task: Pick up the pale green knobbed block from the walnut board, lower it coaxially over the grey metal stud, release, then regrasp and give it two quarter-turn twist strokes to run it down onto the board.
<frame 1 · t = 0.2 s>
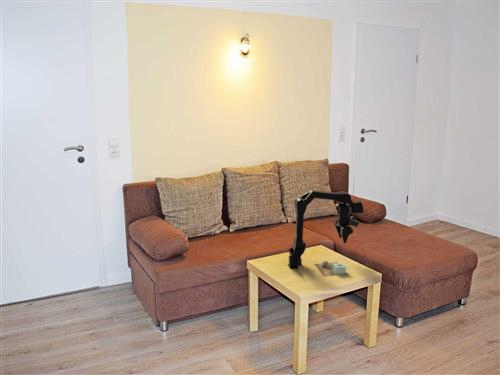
hand: (342, 240, 254), 14 cm above the table, fingers open, 9 cm apart
pale green knobbed block: (338, 272, 243), point 1 cm above the table, touching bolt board
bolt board: (330, 271, 247), on the table
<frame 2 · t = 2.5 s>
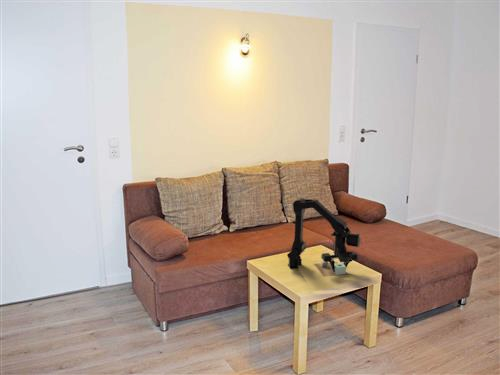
hand: (338, 271, 243), 2 cm above the table, fingers closed on pale green knobbed block, 6 cm apart
pale green knobbed block: (338, 272, 243), point 1 cm above the table, touching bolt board, gripper
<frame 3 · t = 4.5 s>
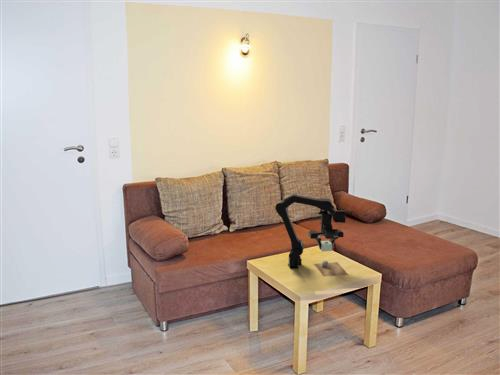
hand: (325, 248, 248), 12 cm above the table, fingers closed on pale green knobbed block, 6 cm apart
pale green knobbed block: (325, 249, 248), point 11 cm above the table, touching gripper
when the fingers open (3 cm above the table, at t = 6.5 s): pale green knobbed block stays where it is, resting on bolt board.
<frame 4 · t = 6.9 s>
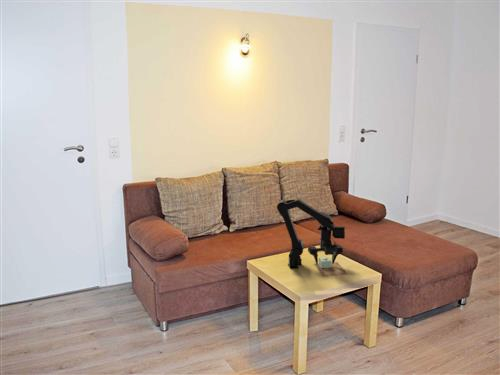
hand: (324, 264, 250), 3 cm above the table, fingers open, 9 cm apart
pale green knobbed block: (324, 266, 250), point 1 cm above the table, touching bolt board
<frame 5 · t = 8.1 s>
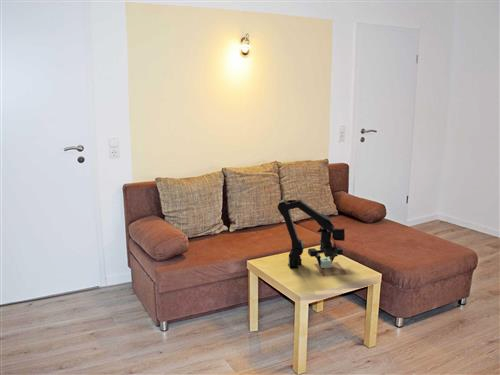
hand: (324, 266, 251), 1 cm above the table, fingers closed on pale green knobbed block, 6 cm apart
pale green knobbed block: (324, 266, 250), point 1 cm above the table, touching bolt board, gripper
when the fingers open (1 cm above the table, at t = 9.4 s): pale green knobbed block stays where it is, resting on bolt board.
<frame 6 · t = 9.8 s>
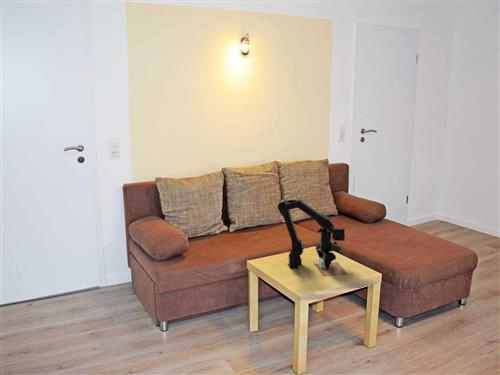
hand: (324, 266, 251), 1 cm above the table, fingers open, 9 cm apart
pale green knobbed block: (324, 266, 250), point 1 cm above the table, touching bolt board
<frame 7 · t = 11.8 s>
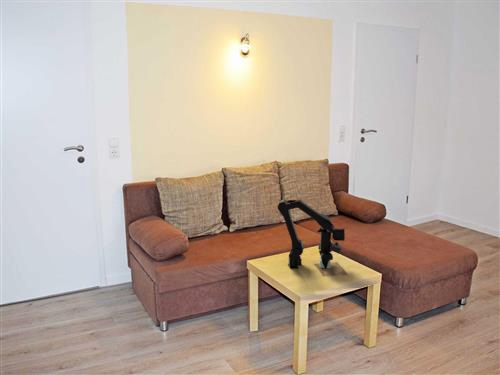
hand: (324, 266, 251), 1 cm above the table, fingers closed on pale green knobbed block, 6 cm apart
pale green knobbed block: (324, 265, 251), point 2 cm above the table, touching gripper
when the fingers open (1 cm above the table, at t = 12.2 s): pale green knobbed block stays where it is, resting on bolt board.
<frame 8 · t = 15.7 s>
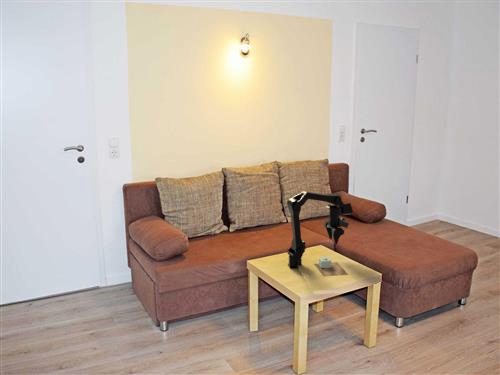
hand: (333, 241, 259), 12 cm above the table, fingers open, 9 cm apart
pale green knobbed block: (324, 266, 251), point 1 cm above the table, touching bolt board
at the end: pale green knobbed block 0.0 cm from the target spot on the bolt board, point 1.5 cm above the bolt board's base; pale green knobbed block tilted 0°; the gripper is holding nothing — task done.
